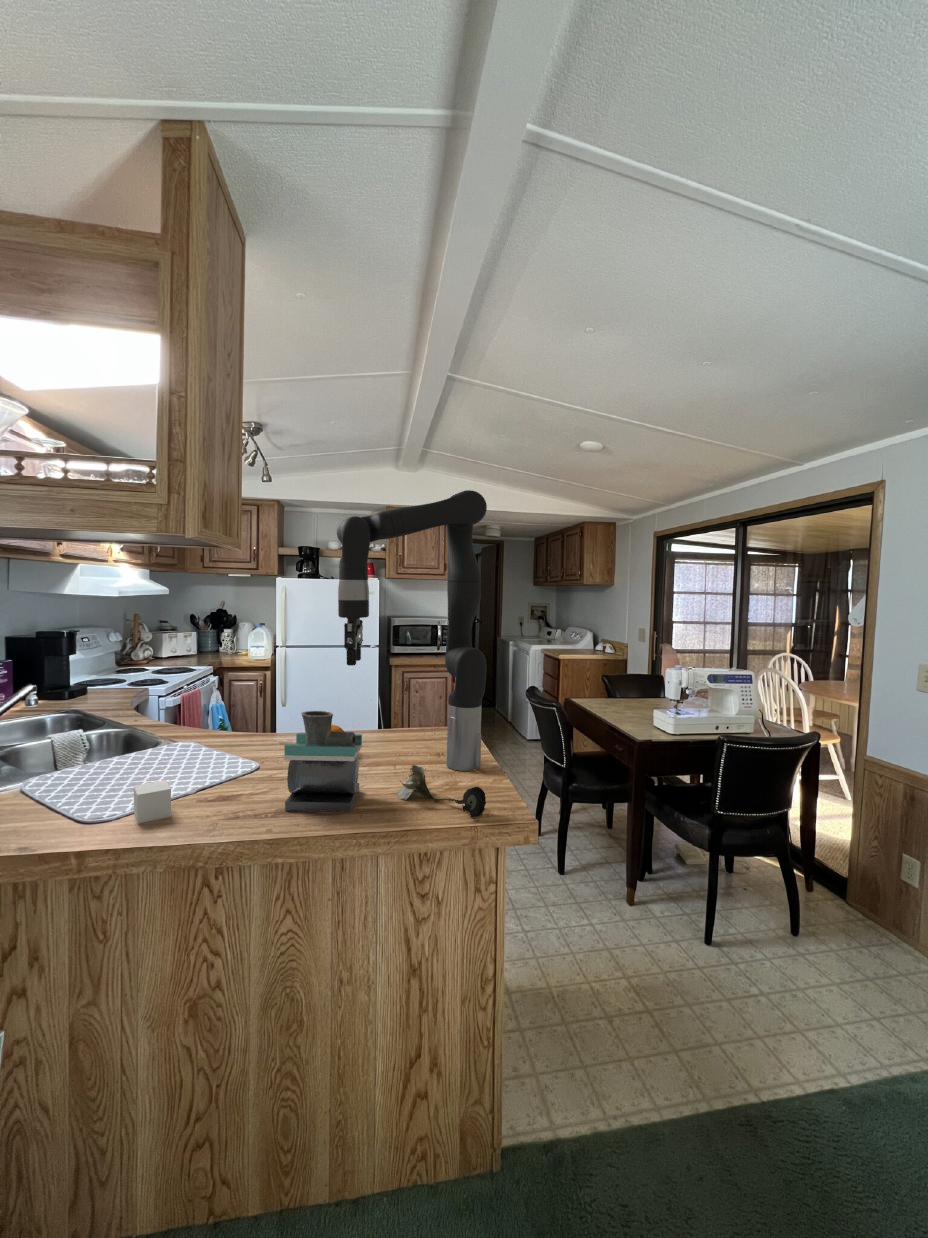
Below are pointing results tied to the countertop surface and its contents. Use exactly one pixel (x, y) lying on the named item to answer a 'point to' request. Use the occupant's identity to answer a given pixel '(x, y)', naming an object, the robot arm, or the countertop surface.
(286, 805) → the motor
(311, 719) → the pipe
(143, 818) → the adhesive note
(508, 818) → the countertop surface
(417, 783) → the artificial flower
